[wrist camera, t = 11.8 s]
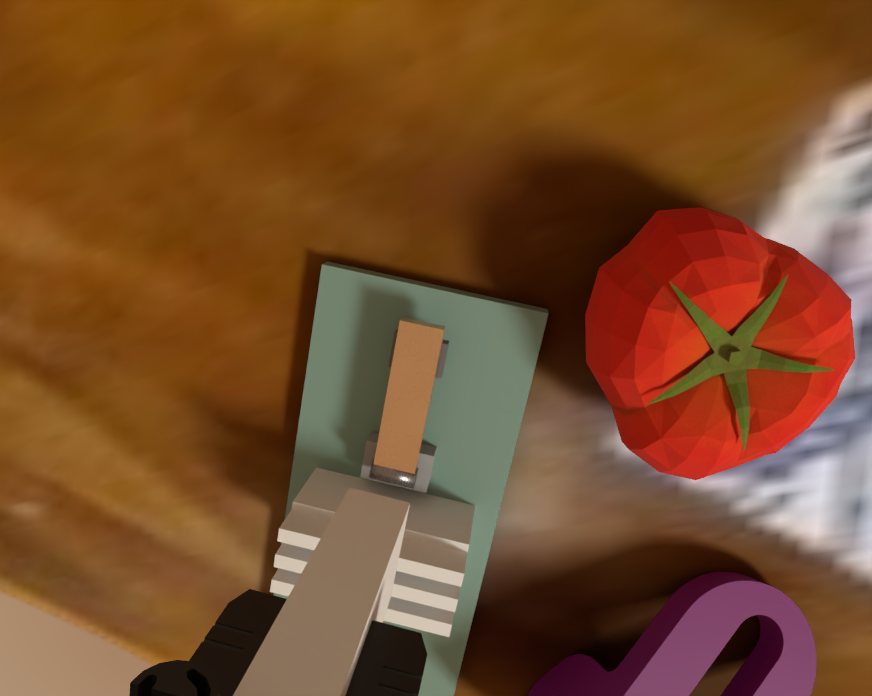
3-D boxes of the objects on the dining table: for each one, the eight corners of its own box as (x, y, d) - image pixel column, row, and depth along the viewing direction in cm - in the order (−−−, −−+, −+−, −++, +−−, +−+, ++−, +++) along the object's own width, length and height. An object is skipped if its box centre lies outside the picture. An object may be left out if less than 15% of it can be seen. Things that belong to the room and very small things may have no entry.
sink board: (327, 261, 39) (282, 283, 32) (547, 309, 38) (552, 343, 31) (266, 675, 48) (219, 767, 41) (445, 722, 47) (430, 825, 40)
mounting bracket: (661, 519, 47) (495, 732, 44) (734, 546, 39) (537, 810, 36) (754, 606, 48) (597, 821, 45) (845, 651, 40) (661, 917, 37)
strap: (401, 315, 37) (397, 320, 36) (448, 325, 37) (445, 331, 35) (372, 472, 39) (368, 481, 38) (415, 482, 39) (412, 492, 38)
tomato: (822, 421, 38) (905, 494, 30) (596, 450, 40) (615, 526, 32) (805, 173, 35) (894, 177, 27) (561, 220, 37) (571, 237, 29)
